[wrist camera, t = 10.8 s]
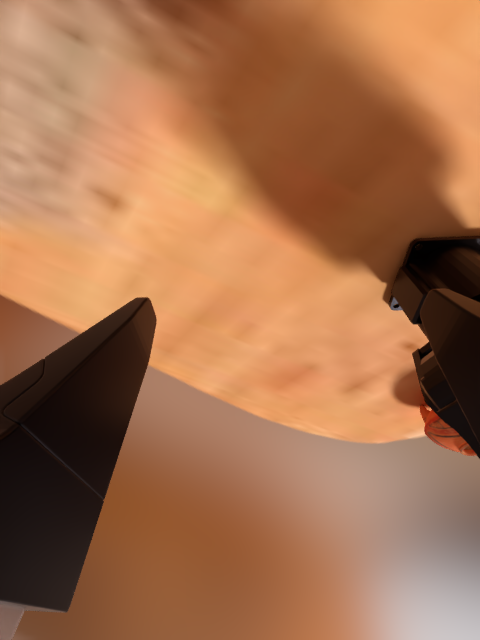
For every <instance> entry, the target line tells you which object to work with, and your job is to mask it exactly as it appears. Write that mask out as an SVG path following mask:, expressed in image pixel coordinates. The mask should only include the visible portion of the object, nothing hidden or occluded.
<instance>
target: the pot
mask: <svg viewBox="0 0 480 640" xmlns="http://www.w3.org/2000/svg"><path fill="white" fill-rule="evenodd" d="M420 413H421V415H422V418H423V420H424V422H425V428H424V431H425V434H426V435H427V436H428V437H429V438H430V439H431V440H432V441H433V442H435V443H436V444H438V445H440V446H442V447H444V448H446V449H449V450H452V451H456V452H461V453H462V454H464V455H467V456H474V455H477V454H476V453H475V452H474V451H473V450H472V448H471V447H470V446H469V445H468V443H467V442H466V441H465V440H464V439H463V438H462V437H461V436H460V435H459V434H458V433H457V432H456V431H455V430H454V429H453V428H451V427H450V426H449V425H448V424H446V423H445V422H444V421H443V420H442V419H441V418H440V417H439V416H438V415H437V414H436V413H435V412H434V411H433V410H431V411H429V410H427V409H426V408H425V406H423V405H421V406H420Z"/></svg>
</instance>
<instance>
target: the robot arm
mask: <svg viewBox="0 0 480 640" xmlns="http://www.w3.org/2000/svg"><path fill="white" fill-rule="evenodd" d="M418 244H420V246H419V247H417V248H415V247H416V246H417V245H418ZM391 293H392V296H391V299H390V301H389V307H390V308H391V309H392V310H403V311H404V312H405V314H406V315H407V317H408V318H409V320H410V321H411V322H412V323H413V324H418V326H419V327H420V328H421V330H422V331H423V333H424V334H425V336H426V337H427V338H428V340H429V342H428V343H427V344H426V345H424V346H423V347H422V348H421V349H417V350H416V351H415V352H413V353H412V355H413V359H414V363H415V367H416V371H417V375H418V379H419V383H420V387H421V391H422V394H423V396H424V399H425V402H426V403H427V404H428V405H429V406H430V407H431V409H432V410H433V411H434V412H435V413H436V414H437V415H438V416H439V417H440V418H441V419H442V420H443V421H444V422H445V423H446V424H448V425H449V426H450V427H451V428H453V429H454V430H455V431H456V432H457V433H458V434H459V435H460V436H461V437H462V438H463V439H464V440H465V441H466V442H467V443H468V445H469V446H470V447H471V448H472V450H473V451H474V452H475V453H476V454H477V456H478V457H479V458H480V236H470V237H445V238H420V239H415V240H413V241H412V242H411V244H410V246H409V248H408V251H407V254H406V257H405V260H404V262H403V265H402V266H401V267H400V269H399V272H398V275H397V277H396V280H395V283H394V286H393V289H392V292H391ZM395 304H396V305H395ZM155 327H156V315H155V312H154V309H153V306H152V303H151V300H150V299H149V298H148V297H142V298H135V299H134V300H132V301H130V302H129V303H127V304H126V305H124V306H123V307H121V308H120V309H118V310H117V311H115V312H114V313H112V314H111V315H109V316H108V317H106V318H104V319H103V320H101V321H100V322H98V323H97V324H95V325H94V326H92V327H91V328H89V329H88V330H86V331H85V332H83V333H81V334H80V335H79V336H77V337H75V338H74V339H72V340H71V341H69V342H68V343H66V344H65V345H63V346H62V347H60V348H59V349H57V350H55V351H54V352H52V353H51V354H49V355H48V356H46V357H45V359H42V360H40V361H39V362H37V363H36V364H34V365H32V366H31V367H29V368H28V369H26V370H25V371H23V372H21V373H20V374H18V375H17V376H15V377H14V378H12V379H10V380H9V381H7V382H5V383H4V384H2V385H0V640H12V638H13V636H14V633H15V631H16V629H17V627H18V624H19V622H20V620H21V617H22V615H23V613H24V611H25V610H26V611H27V610H28V611H47V612H67V611H68V609H69V607H70V604H71V601H72V598H73V595H74V592H75V589H76V585H77V583H78V580H79V577H80V573H81V570H82V567H83V564H84V561H85V558H86V555H87V552H88V549H89V546H90V543H91V540H92V536H93V533H94V530H95V527H96V524H97V521H98V518H99V515H100V512H101V509H102V506H103V503H104V501H103V500H104V498H105V495H106V493H107V490H108V486H109V483H110V480H111V477H112V474H113V471H114V468H115V465H116V462H117V459H118V455H119V452H120V449H121V446H122V443H123V440H124V437H125V434H126V431H127V428H128V425H129V421H130V418H131V415H132V412H133V409H134V406H135V403H136V400H137V397H138V394H139V391H140V387H141V384H142V381H143V378H144V375H145V372H146V369H147V366H148V362H149V358H150V354H151V348H152V343H153V338H154V333H155Z"/></svg>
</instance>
